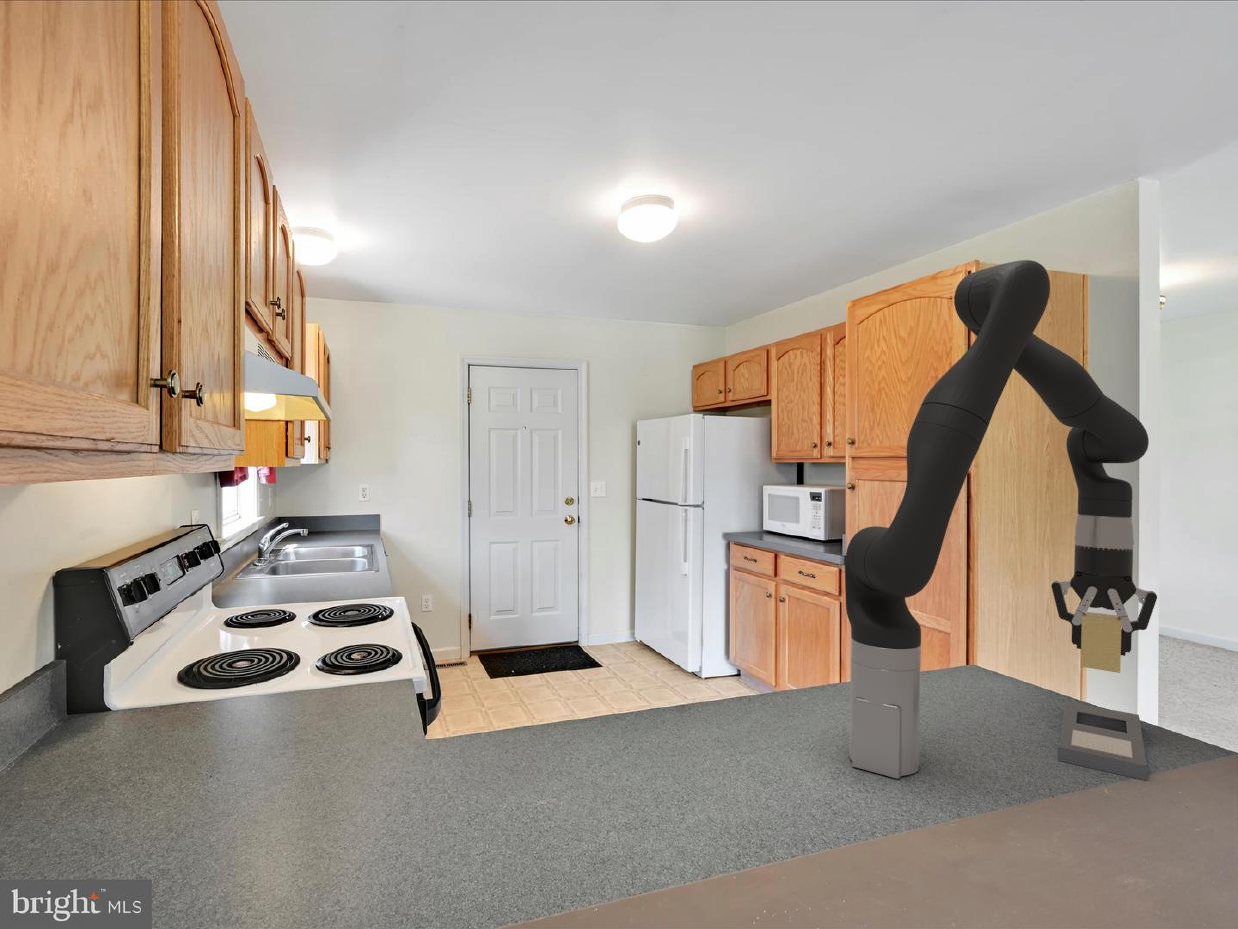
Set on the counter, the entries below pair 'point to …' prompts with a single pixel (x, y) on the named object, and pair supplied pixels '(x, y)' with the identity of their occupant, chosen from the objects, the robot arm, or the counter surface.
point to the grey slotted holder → (1102, 740)
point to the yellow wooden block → (1101, 642)
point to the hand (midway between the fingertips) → (1100, 650)
